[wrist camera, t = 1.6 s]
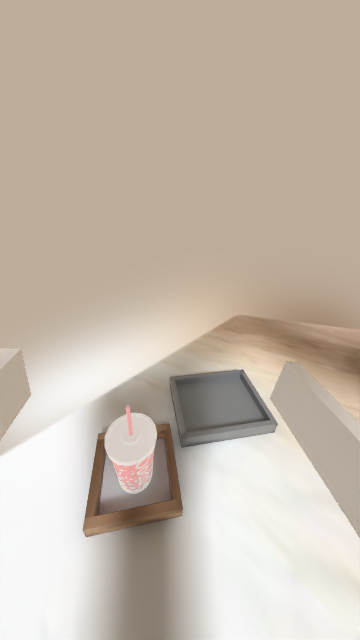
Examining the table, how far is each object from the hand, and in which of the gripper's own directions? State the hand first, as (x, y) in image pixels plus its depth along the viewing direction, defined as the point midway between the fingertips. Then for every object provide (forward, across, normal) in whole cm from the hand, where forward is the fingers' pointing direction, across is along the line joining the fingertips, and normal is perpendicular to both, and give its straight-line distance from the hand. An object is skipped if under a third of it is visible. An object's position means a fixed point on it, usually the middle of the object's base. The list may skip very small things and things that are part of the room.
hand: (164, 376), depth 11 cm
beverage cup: (+9, -1, -25) cm, 27 cm away
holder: (+9, -1, -25) cm, 27 cm away
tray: (+19, +14, -23) cm, 33 cm away
